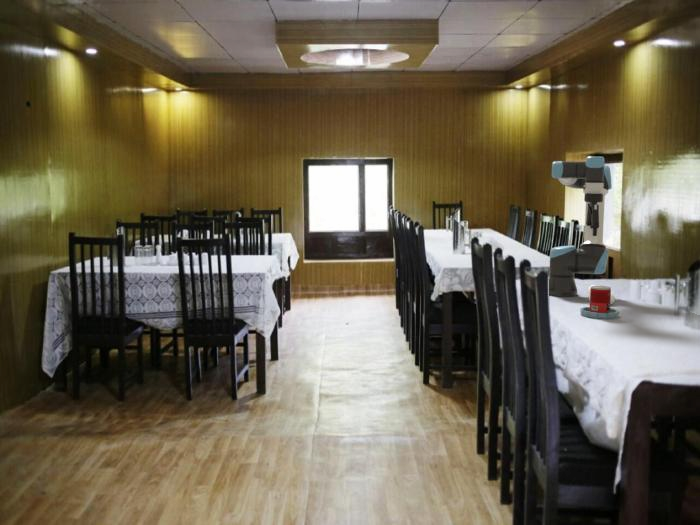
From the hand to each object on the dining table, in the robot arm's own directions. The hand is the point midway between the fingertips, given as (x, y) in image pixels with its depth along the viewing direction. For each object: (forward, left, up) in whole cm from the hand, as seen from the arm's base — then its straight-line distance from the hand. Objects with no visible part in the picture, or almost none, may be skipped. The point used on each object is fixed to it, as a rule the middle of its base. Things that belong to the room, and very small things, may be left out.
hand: (591, 242), depth 333 cm
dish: (+17, +2, -29) cm, 33 cm away
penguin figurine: (-11, +7, -29) cm, 32 cm away
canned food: (+17, +2, -28) cm, 33 cm away
